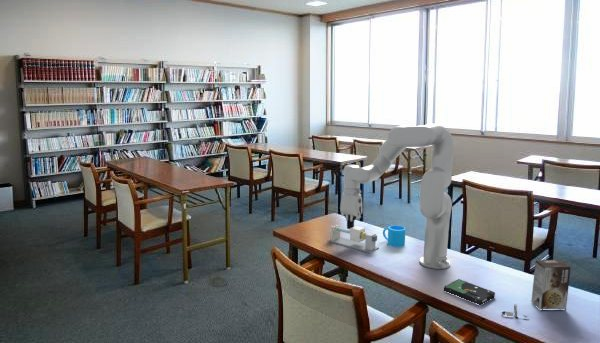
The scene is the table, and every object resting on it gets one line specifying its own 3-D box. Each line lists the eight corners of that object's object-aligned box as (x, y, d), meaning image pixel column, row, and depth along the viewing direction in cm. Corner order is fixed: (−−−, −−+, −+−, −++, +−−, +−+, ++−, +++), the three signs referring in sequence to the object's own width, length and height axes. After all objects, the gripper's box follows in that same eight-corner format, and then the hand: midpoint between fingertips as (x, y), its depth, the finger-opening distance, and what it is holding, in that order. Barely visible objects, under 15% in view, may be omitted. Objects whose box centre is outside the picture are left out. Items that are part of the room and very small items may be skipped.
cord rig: (379, 248, 213) (380, 233, 211) (370, 253, 207) (371, 237, 205) (337, 237, 228) (337, 222, 227) (327, 241, 222) (327, 226, 221)
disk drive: (494, 299, 165) (458, 285, 176) (495, 292, 164) (458, 278, 175) (480, 307, 158) (442, 292, 169) (480, 300, 158) (443, 285, 169)
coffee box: (555, 302, 162) (560, 259, 159) (566, 311, 155) (572, 266, 152) (530, 302, 161) (534, 259, 158) (540, 311, 155) (545, 266, 152)
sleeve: (364, 239, 216) (365, 227, 215) (358, 242, 212) (359, 230, 211) (355, 237, 219) (356, 225, 218) (349, 240, 215) (350, 228, 214)
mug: (408, 244, 219) (409, 228, 218) (398, 248, 214) (399, 231, 212) (387, 238, 228) (388, 222, 226) (377, 241, 222) (378, 225, 221)
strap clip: (501, 317, 151) (502, 305, 150) (500, 313, 154) (501, 301, 153) (529, 321, 149) (530, 309, 148) (527, 316, 152) (529, 305, 151)
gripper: (369, 192, 212) (367, 229, 215) (343, 187, 221) (342, 223, 225) (360, 195, 206) (359, 233, 210) (333, 189, 216) (333, 227, 219)
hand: (350, 228), depth 217 cm, fingers closed
